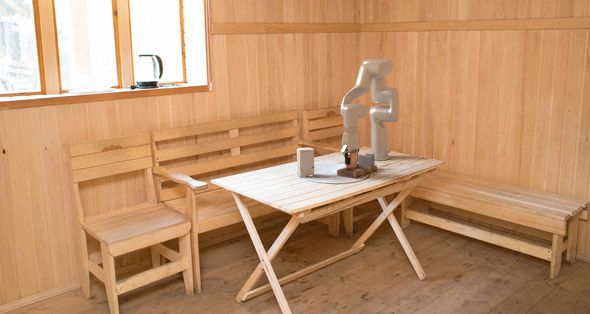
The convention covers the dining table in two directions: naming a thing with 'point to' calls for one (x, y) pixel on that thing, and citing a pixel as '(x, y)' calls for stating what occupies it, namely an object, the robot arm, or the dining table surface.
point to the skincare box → (305, 162)
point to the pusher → (366, 160)
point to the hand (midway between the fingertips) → (351, 163)
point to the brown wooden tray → (356, 171)
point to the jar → (353, 159)
